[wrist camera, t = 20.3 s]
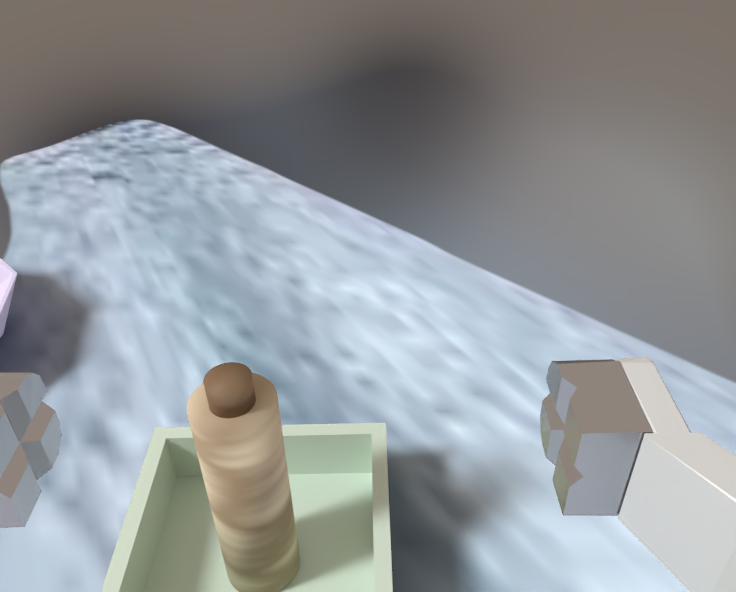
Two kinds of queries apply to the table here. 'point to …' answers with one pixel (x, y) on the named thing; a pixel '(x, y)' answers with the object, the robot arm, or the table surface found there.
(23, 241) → the table surface
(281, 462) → the pepper mill
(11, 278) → the fruit bowl
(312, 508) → the bin
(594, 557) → the table surface
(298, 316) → the table surface
